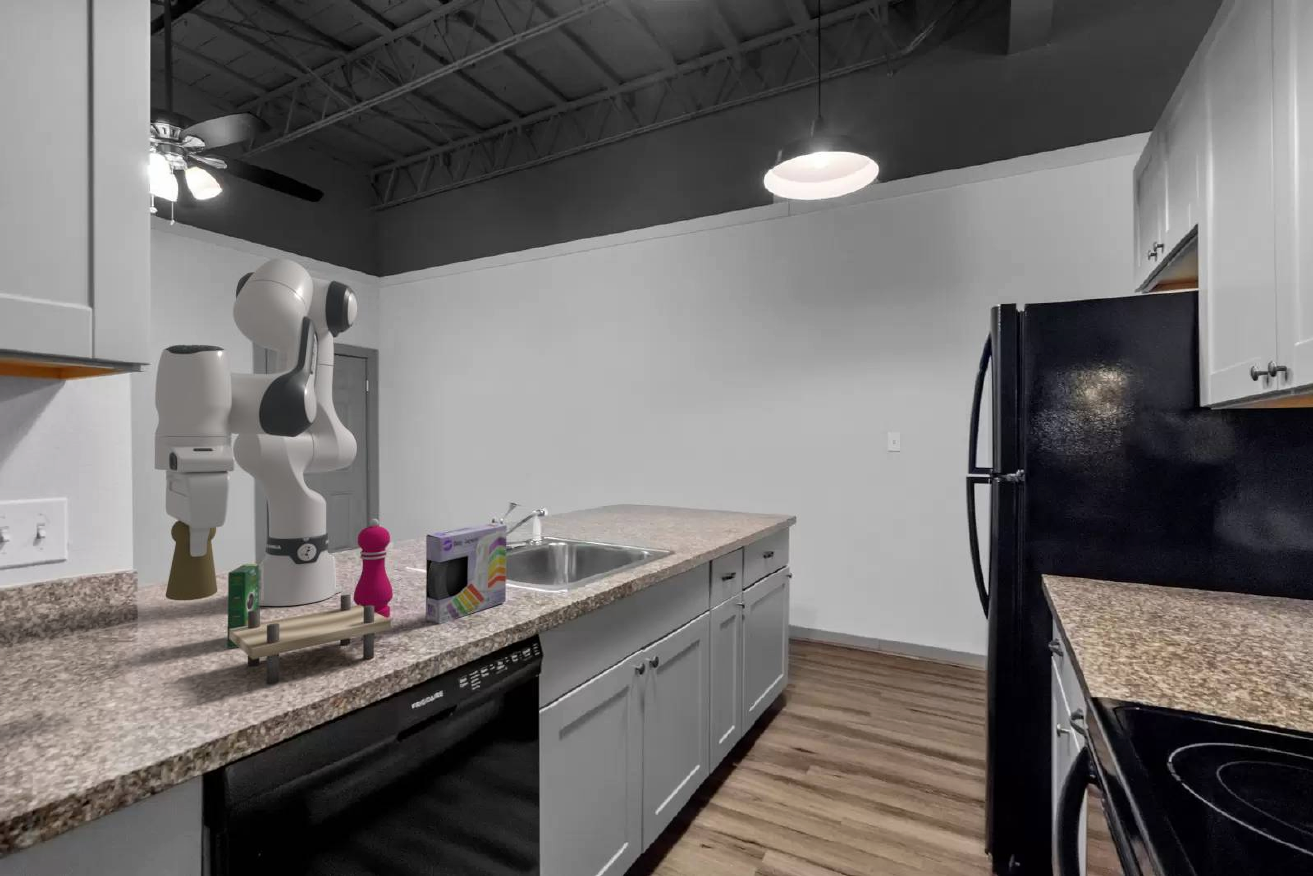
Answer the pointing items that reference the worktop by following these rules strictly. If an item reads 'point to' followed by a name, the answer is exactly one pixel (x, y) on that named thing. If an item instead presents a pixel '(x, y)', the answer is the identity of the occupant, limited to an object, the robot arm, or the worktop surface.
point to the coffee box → (242, 596)
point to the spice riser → (307, 633)
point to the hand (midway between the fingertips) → (193, 552)
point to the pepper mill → (374, 570)
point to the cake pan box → (465, 571)
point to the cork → (190, 568)
